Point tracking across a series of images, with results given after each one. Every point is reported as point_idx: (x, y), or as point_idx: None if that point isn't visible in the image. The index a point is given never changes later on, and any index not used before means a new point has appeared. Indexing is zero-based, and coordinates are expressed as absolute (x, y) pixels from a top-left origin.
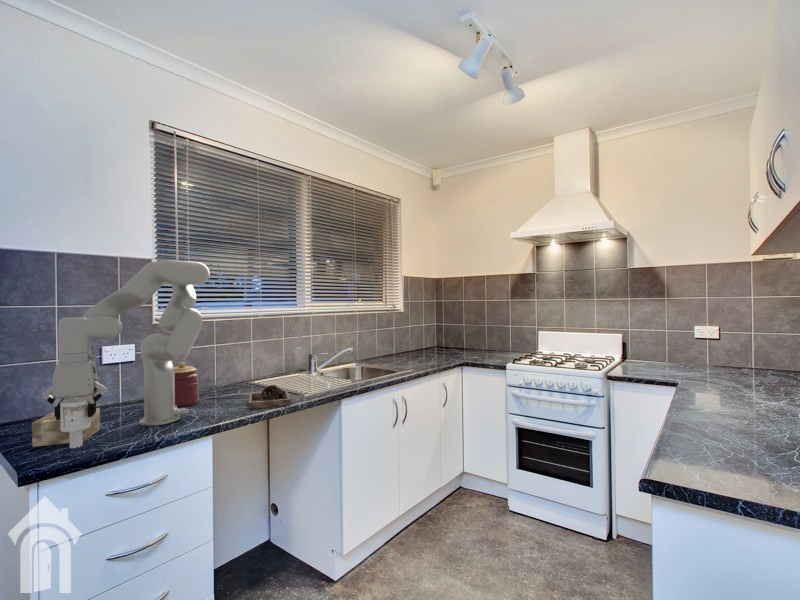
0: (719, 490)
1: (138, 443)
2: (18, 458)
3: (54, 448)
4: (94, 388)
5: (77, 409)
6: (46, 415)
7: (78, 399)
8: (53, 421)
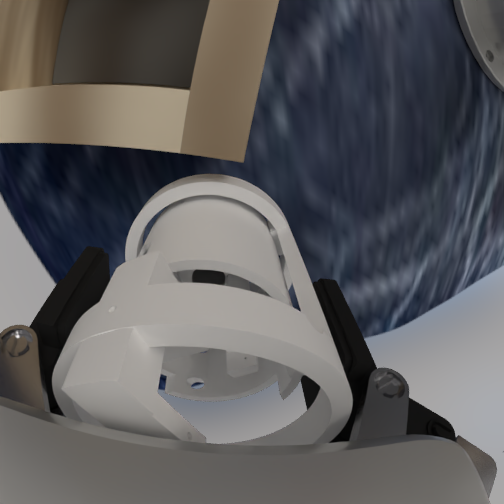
0: None
1: (419, 289)
2: (53, 256)
3: (126, 187)
4: (454, 475)
5: (197, 265)
6: None
7: (191, 328)
8: (38, 140)
